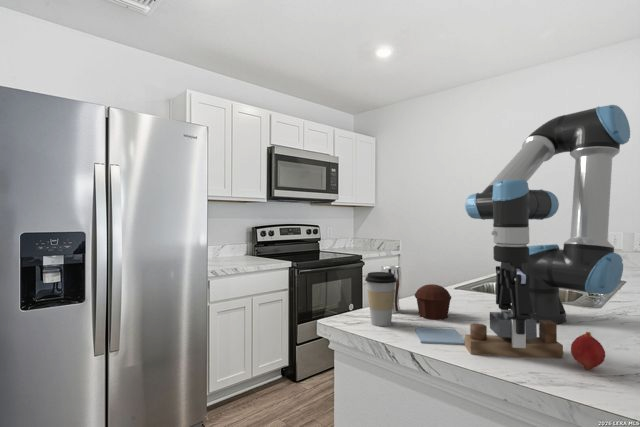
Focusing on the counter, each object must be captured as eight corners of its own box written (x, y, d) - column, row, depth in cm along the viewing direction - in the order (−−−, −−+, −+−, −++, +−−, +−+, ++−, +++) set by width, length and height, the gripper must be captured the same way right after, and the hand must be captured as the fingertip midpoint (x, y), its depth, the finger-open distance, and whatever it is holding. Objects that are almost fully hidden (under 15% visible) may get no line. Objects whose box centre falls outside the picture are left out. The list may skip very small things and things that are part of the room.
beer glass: (389, 314, 116) (389, 269, 116) (376, 309, 122) (376, 266, 122) (405, 311, 119) (405, 267, 119) (392, 307, 125) (392, 265, 126)
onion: (564, 364, 77) (563, 327, 77) (588, 363, 77) (588, 326, 77) (586, 376, 71) (586, 336, 71) (612, 375, 71) (612, 335, 71)
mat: (455, 330, 99) (455, 329, 99) (465, 344, 88) (465, 342, 88) (415, 329, 101) (415, 327, 101) (420, 342, 90) (420, 341, 90)
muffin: (434, 310, 122) (434, 281, 122) (459, 318, 112) (459, 286, 112) (407, 314, 117) (406, 284, 117) (430, 323, 107) (430, 290, 107)
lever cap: (524, 329, 86) (523, 309, 86) (536, 338, 80) (536, 317, 80) (489, 328, 88) (489, 308, 88) (499, 337, 81) (499, 316, 81)
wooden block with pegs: (551, 350, 85) (551, 319, 85) (563, 358, 80) (562, 325, 80) (464, 346, 87) (464, 316, 87) (470, 354, 82) (470, 322, 83)
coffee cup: (397, 329, 101) (396, 276, 101) (364, 327, 103) (363, 275, 103) (396, 319, 110) (396, 271, 110) (366, 318, 112) (366, 271, 112)
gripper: (481, 241, 94) (482, 328, 94) (510, 248, 75) (512, 357, 75) (511, 241, 93) (512, 328, 93) (548, 248, 74) (550, 358, 74)
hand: (512, 341), depth 84 cm, fingers closed on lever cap, 6 cm apart
